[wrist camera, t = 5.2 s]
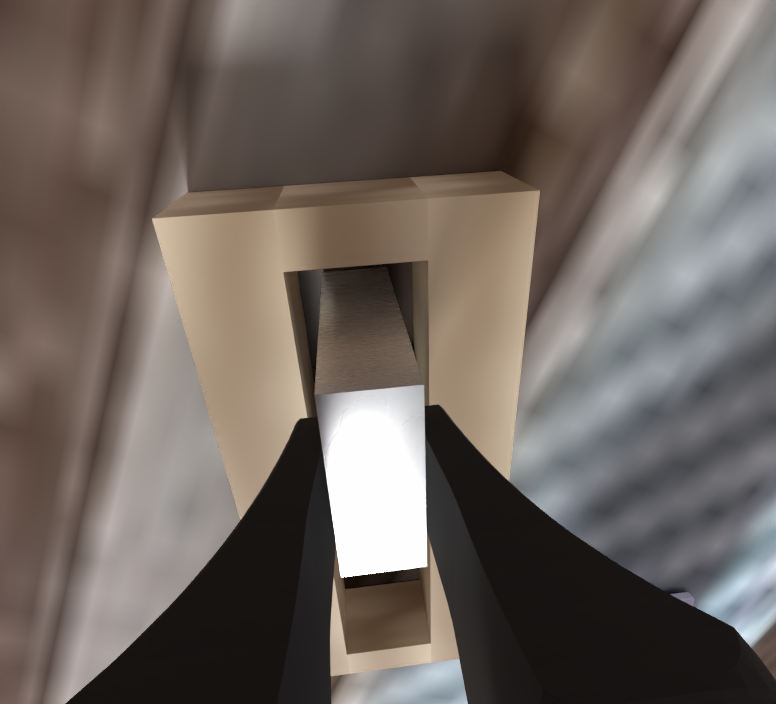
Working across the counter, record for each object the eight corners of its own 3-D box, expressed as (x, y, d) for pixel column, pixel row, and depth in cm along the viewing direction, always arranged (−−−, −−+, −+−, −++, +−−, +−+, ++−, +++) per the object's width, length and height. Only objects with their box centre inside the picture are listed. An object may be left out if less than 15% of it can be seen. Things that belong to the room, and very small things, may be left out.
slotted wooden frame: (500, 171, 14) (540, 190, 11) (473, 591, 24) (490, 654, 21) (187, 192, 13) (151, 218, 11) (293, 615, 23) (287, 682, 21)
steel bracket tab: (386, 266, 15) (424, 384, 9) (393, 399, 17) (427, 566, 11) (322, 272, 15) (314, 395, 9) (338, 405, 17) (341, 577, 11)
